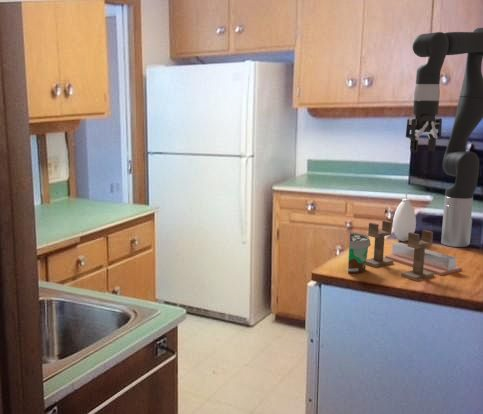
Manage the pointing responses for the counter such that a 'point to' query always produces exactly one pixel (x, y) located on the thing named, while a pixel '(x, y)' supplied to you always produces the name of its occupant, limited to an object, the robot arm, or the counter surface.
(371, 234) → the cradle stands
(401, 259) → the rust mat
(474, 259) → the counter surface
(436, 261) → the steel rail
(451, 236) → the robot arm
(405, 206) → the sauce bottle
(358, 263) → the food container
